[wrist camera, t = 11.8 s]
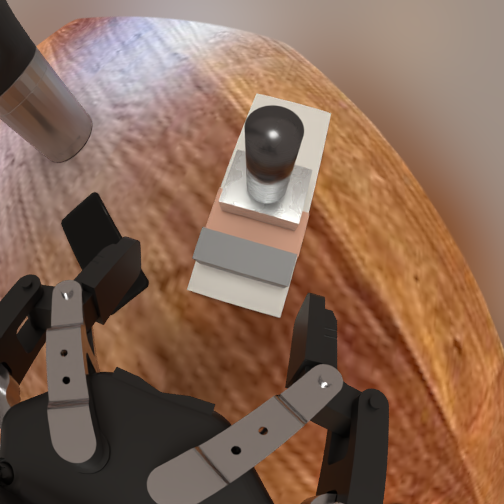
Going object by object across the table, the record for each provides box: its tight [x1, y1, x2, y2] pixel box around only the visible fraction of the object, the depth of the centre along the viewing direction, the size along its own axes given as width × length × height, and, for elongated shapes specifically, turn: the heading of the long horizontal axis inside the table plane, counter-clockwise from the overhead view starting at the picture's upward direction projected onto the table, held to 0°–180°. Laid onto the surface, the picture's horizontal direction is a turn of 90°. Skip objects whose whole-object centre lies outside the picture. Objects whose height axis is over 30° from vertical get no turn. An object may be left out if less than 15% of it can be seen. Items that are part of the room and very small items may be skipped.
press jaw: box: [219, 105, 312, 231], centre depth 24 cm, size 6×8×13 cm
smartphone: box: [61, 192, 149, 315], centre depth 32 cm, size 7×1×15 cm
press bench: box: [187, 94, 331, 318], centre depth 30 cm, size 26×10×6 cm, turn 164°
